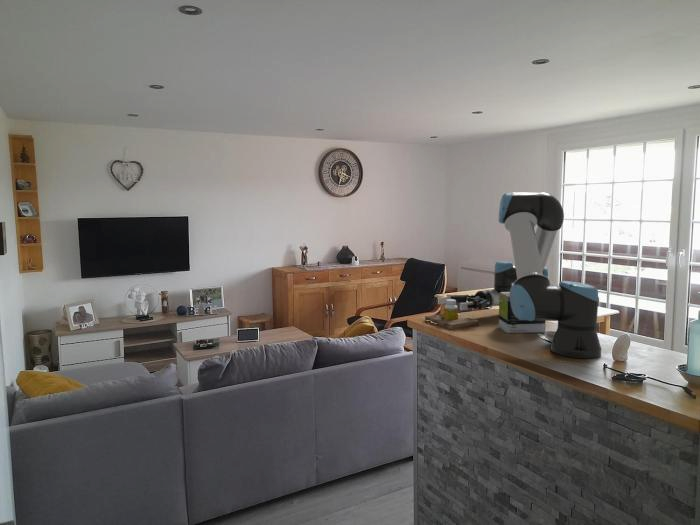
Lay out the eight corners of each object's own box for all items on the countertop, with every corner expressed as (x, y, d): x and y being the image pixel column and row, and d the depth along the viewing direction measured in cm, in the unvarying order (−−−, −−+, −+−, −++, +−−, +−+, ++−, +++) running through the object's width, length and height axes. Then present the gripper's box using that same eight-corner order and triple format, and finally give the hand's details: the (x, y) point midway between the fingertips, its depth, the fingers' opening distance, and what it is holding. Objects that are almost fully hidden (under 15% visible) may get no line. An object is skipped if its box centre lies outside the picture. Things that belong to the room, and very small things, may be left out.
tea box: (534, 326, 197) (536, 290, 195) (545, 333, 187) (547, 295, 185) (497, 327, 196) (499, 290, 194) (506, 333, 186) (507, 295, 185)
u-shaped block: (478, 325, 199) (478, 320, 199) (452, 329, 192) (452, 324, 192) (450, 317, 214) (450, 312, 213) (425, 320, 207) (425, 316, 207)
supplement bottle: (447, 324, 200) (447, 301, 199) (441, 321, 205) (442, 299, 204) (459, 324, 201) (460, 300, 200) (453, 321, 207) (454, 298, 205)
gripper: (508, 312, 202) (470, 318, 192) (466, 302, 224) (429, 307, 213) (509, 294, 201) (470, 299, 191) (466, 286, 223) (430, 290, 212)
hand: (449, 303), depth 202 cm, fingers open, 13 cm apart
